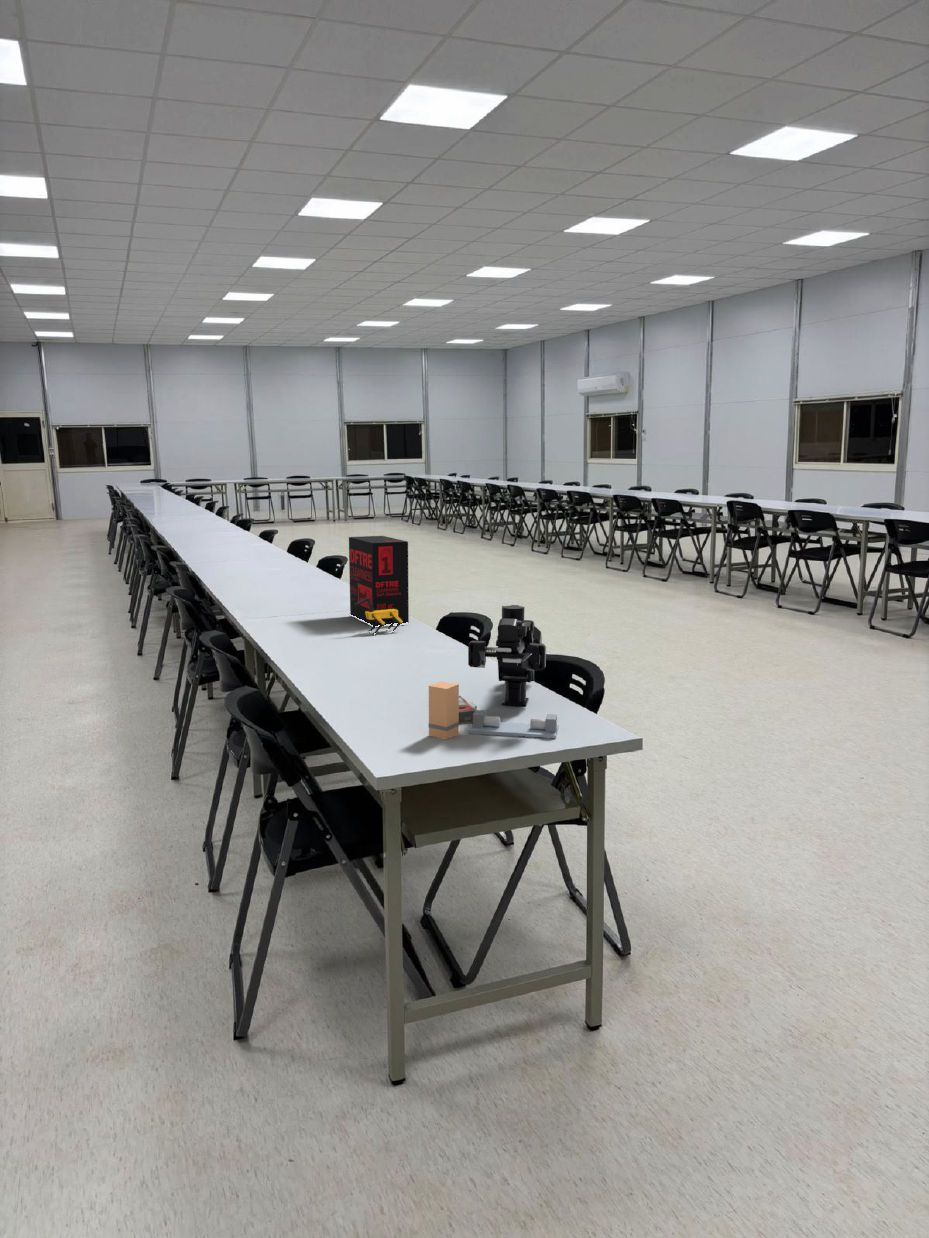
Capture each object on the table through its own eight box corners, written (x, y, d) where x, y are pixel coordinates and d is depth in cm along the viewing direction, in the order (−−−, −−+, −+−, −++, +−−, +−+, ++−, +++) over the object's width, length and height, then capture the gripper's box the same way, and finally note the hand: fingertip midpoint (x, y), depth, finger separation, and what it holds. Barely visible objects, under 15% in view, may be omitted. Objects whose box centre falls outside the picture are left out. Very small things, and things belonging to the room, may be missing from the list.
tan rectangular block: (441, 729, 210) (441, 681, 208) (458, 733, 207) (459, 684, 205) (428, 735, 206) (428, 685, 204) (446, 739, 203) (446, 689, 201)
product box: (350, 616, 355) (348, 537, 349) (383, 613, 362) (382, 535, 356) (373, 628, 332) (372, 543, 326) (408, 624, 338) (408, 541, 332)
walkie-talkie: (488, 723, 217) (462, 701, 236) (488, 705, 216) (462, 685, 235) (454, 726, 214) (431, 704, 233) (454, 708, 214) (431, 688, 232)
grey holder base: (476, 723, 215) (476, 707, 215) (558, 728, 212) (558, 712, 211) (470, 733, 208) (470, 717, 207) (555, 738, 204) (556, 722, 203)
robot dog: (351, 634, 321) (351, 597, 318) (396, 629, 329) (396, 594, 327) (358, 637, 316) (357, 600, 313) (403, 632, 325) (403, 596, 322)
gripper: (474, 615, 221) (462, 628, 206) (549, 618, 218) (542, 631, 203) (474, 658, 223) (462, 674, 208) (548, 662, 220) (541, 678, 205)
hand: (501, 663), depth 206 cm, fingers open, 9 cm apart
